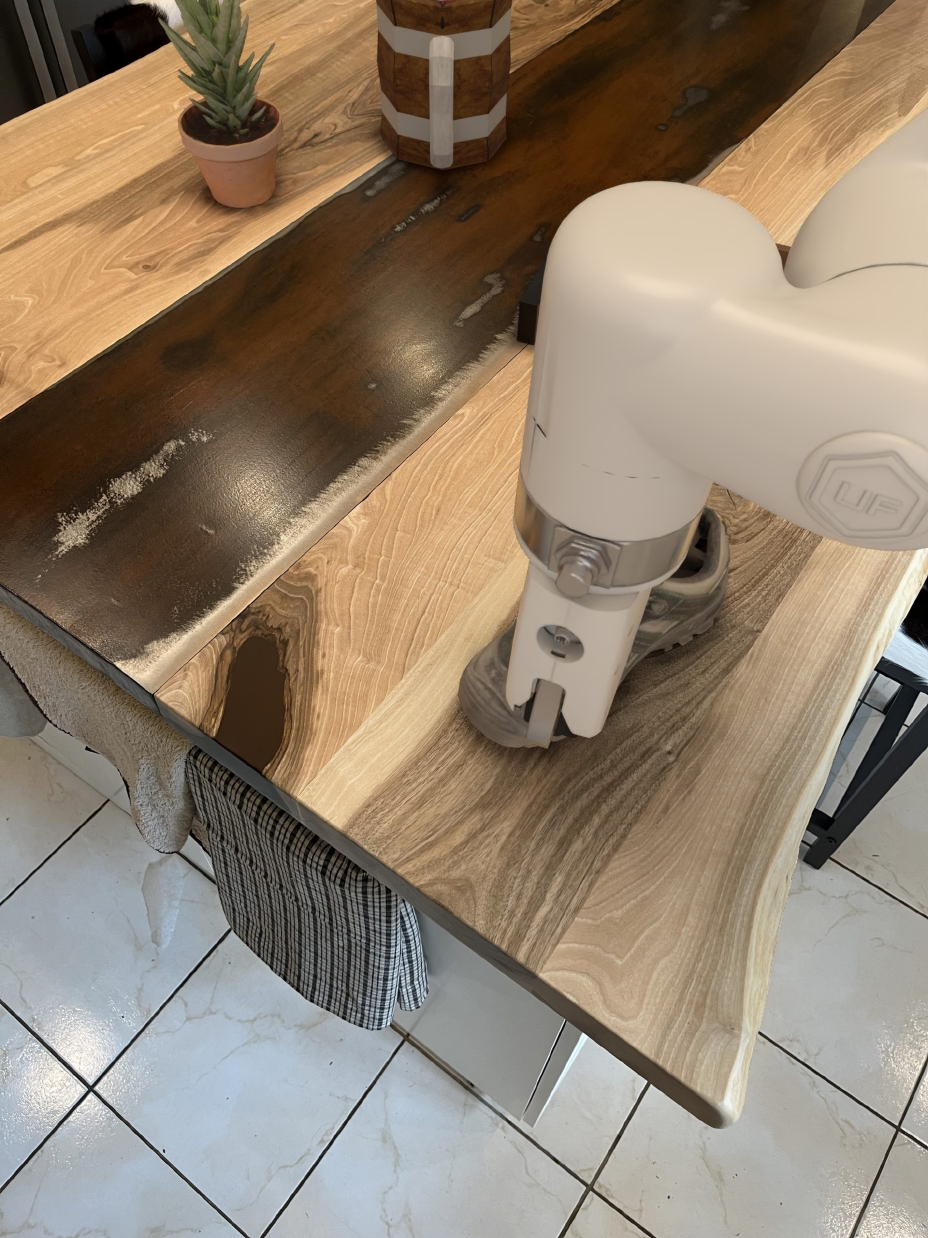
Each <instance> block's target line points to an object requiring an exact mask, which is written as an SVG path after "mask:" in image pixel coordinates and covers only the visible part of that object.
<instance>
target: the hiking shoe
mask: <svg viewBox="0 0 928 1238" xmlns="http://www.w3.org/2000/svg"><path fill="white" fill-rule="evenodd" d="M727 532H728V526H727V524H726V522H725V520H724V519H723V517H722V516H721V515H719V513H717V512H716V511H715V510H714V509H713V508H711V507H708V506H706V505H705V507H704V510H703V512H702V515H701V518H700V520H699V523H698V526H697V528H696V531H695V534H694V536H693V539H692V542H691V544H690V547H689V550H688V553H687V555H686V557H685V559H684V561H683V562H682V564H681V565H680V567H679V568H678V569H677V571H675V572H674V573H673V574H672V575H671V576H670V577H669V578H668V579H666V580H665V581H663V582H662V583H660V584H658V585H656V586H654V587H652V589H651V592H650V595H649V599H648V602H647V604H646V607H645V610H644V613H643V616H642V619H641V622H640V625H639V628H638V631H637V633H636V636H635V639H634V642H633V645H632V648H631V651H630V653H629V656H628V659H627V662H626V665H625V668H624V670H623V673H622V676H621V679H620V682H619V684H618V687H617V689H618V688H619V686H620V685H621V684H622V682H623V681H624V679H625V678H626V677H627V676H628V674H629V673H630V672H631V670H632V669H633V668H634V667H635V666H637V664H638V663H639V662H640V661H642V660H643V659H644V658H645V657H646V656H648V655H649V654H651V652H655V651H658V650H663V651H664V652H665V653H666V652H668V651H671V650H672V649H673V646H674V644H677V643H678V644H680V645H681V646H685V645H686V644H688V643H689V642H691V641H693V638H694V635H701V634H704V633H705V632H707V630H709V629H710V628H711V627H713V626H714V619H716V618H717V617H718V616H720V614H721V613H722V611H723V609H724V606H725V603H726V595H727V587H728V583H729V567H730V565H731V550H730V546H729V541H728V538H727V535H726V533H727ZM516 623H517V618H515V620H512V622H511V624H510V626H509V627H508V628H506V629H505V630H503V632H501V633H500V634H499V635H498V636H496V637H495V638H493V639H492V640H491V641H490V642H489V643H488V644H487V645H485V646H484V647H483V648H481V650H479V652H477V653H476V654H475V655H474V656H473V657H472V658H471V659H470V660H469V662H468V663H467V665H466V666H465V667H464V669H463V670H462V671H463V672H462V673H461V677H460V679H459V684H458V690H457V698H458V701H459V704H460V707H461V709H462V711H463V713H464V714H465V716H466V717H467V718H468V720H469V721H470V723H471V724H472V725H473V726H474V727H475V728H476V729H477V730H478V731H479V732H480V733H481V734H482V735H483V736H485V737H486V738H487V739H488V740H490V741H492V742H494V743H496V744H499V745H501V746H502V747H507V748H521V747H524V748H528V749H531V748H535V747H539V746H538V745H535V744H532V743H529V742H527V741H524V739H525V735H526V731H527V727H528V724H529V723H527V722H526V721H525V720H524V719H523V717H524V712H525V707H526V702H525V703H523V705H522V707H521V709H519V708H516V709H515V711H512V709H511V708H510V706H509V704H508V702H507V699H506V683H507V675H508V668H509V662H510V656H511V650H512V644H513V639H514V633H515V628H516ZM565 738H567V737H566V736H563V735H561V736H553V737H552V739H551V742H558V741H561V740H563V739H565Z"/></svg>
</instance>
